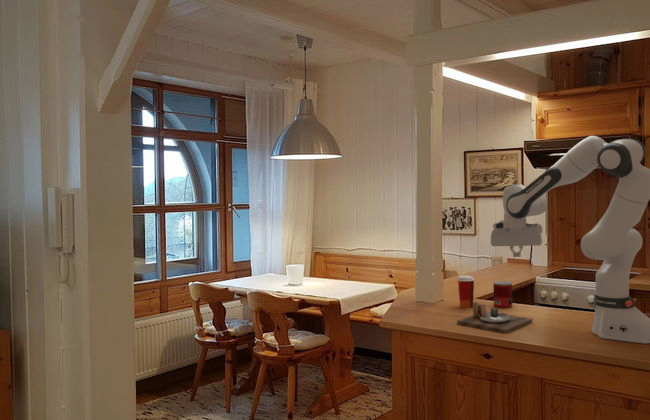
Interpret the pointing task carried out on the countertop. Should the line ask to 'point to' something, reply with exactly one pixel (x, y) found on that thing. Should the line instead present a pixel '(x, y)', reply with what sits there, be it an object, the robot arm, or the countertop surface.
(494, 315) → the flange
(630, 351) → the countertop surface
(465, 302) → the paper cup
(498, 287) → the canned food
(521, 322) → the base board
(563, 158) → the robot arm
